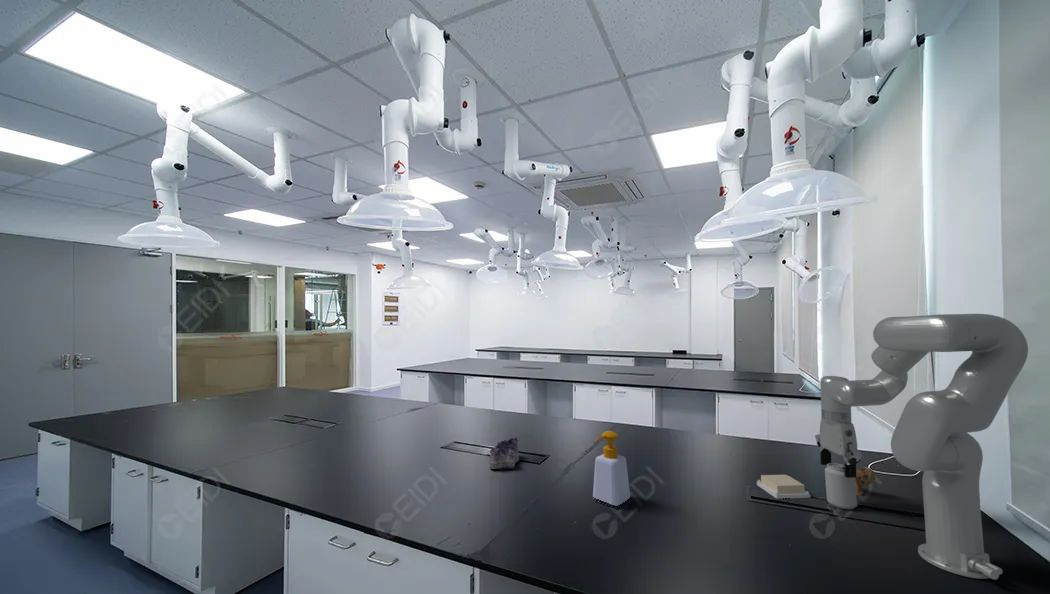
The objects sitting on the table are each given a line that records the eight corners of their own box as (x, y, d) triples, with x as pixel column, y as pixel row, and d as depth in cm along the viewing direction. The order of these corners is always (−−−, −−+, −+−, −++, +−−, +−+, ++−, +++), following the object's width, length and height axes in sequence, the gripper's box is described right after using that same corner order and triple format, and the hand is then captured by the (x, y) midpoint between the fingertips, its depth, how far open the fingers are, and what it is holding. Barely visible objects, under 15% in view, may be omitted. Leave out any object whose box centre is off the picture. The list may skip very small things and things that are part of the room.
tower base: (810, 498, 131) (809, 486, 132) (776, 498, 131) (776, 487, 131) (787, 484, 142) (787, 473, 143) (756, 484, 142) (756, 474, 142)
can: (859, 512, 121) (856, 471, 122) (828, 507, 125) (825, 467, 126) (855, 503, 127) (852, 464, 128) (825, 498, 131) (823, 460, 132)
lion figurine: (879, 495, 132) (877, 467, 133) (873, 500, 129) (872, 471, 130) (826, 481, 144) (825, 455, 145) (820, 484, 142) (819, 458, 142)
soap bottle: (583, 504, 129) (581, 434, 130) (607, 491, 139) (605, 425, 140) (608, 514, 123) (606, 440, 124) (632, 499, 132) (630, 430, 134)
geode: (497, 454, 179) (500, 432, 180) (522, 459, 177) (525, 436, 177) (483, 469, 159) (486, 444, 160) (511, 475, 157) (515, 449, 158)
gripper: (871, 423, 119) (873, 482, 119) (826, 408, 136) (828, 459, 136) (846, 424, 119) (848, 482, 119) (805, 409, 136) (806, 460, 136)
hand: (837, 470), depth 127 cm, fingers open, 9 cm apart
